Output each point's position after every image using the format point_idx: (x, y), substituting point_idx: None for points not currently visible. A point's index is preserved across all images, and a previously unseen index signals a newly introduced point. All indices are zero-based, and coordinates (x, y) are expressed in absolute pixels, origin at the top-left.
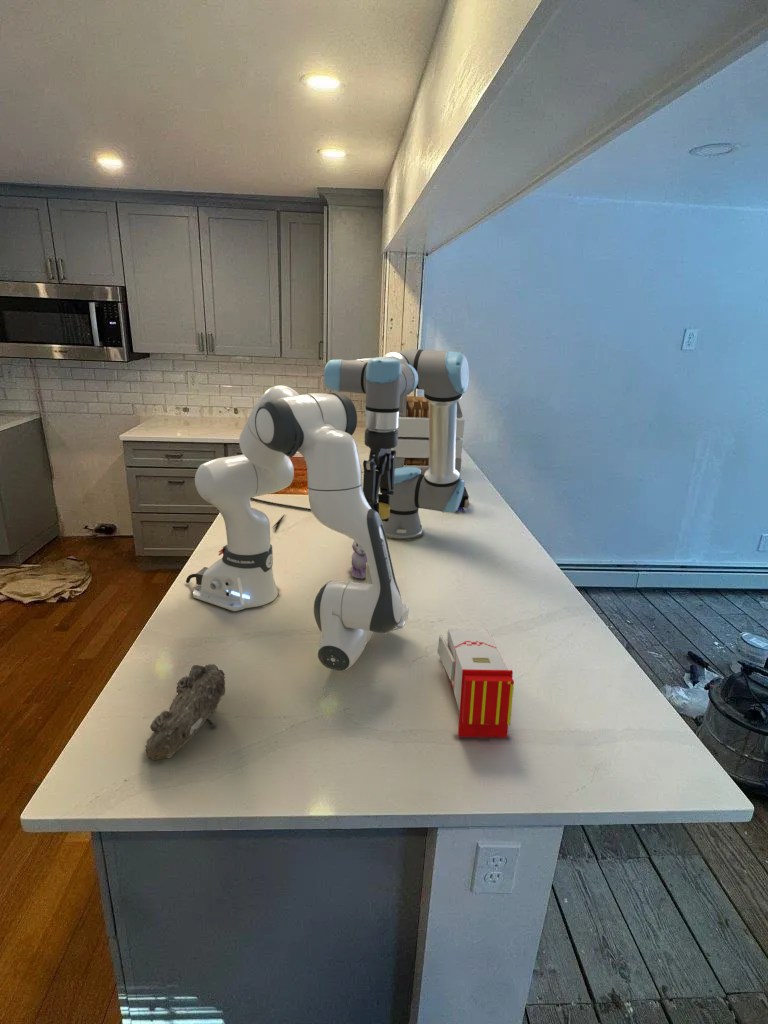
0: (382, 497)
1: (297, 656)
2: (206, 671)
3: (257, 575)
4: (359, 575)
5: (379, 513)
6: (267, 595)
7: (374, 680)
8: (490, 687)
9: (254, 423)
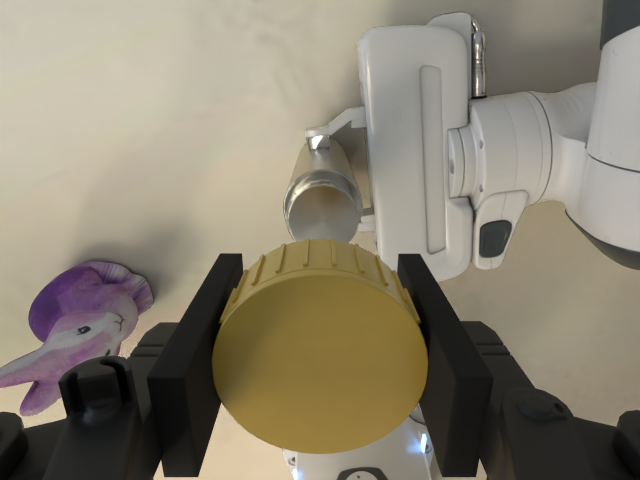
0: (200, 418)
1: (549, 243)
2: None
3: (398, 472)
4: (144, 290)
5: (411, 307)
6: None
7: (593, 34)
8: None
9: None
